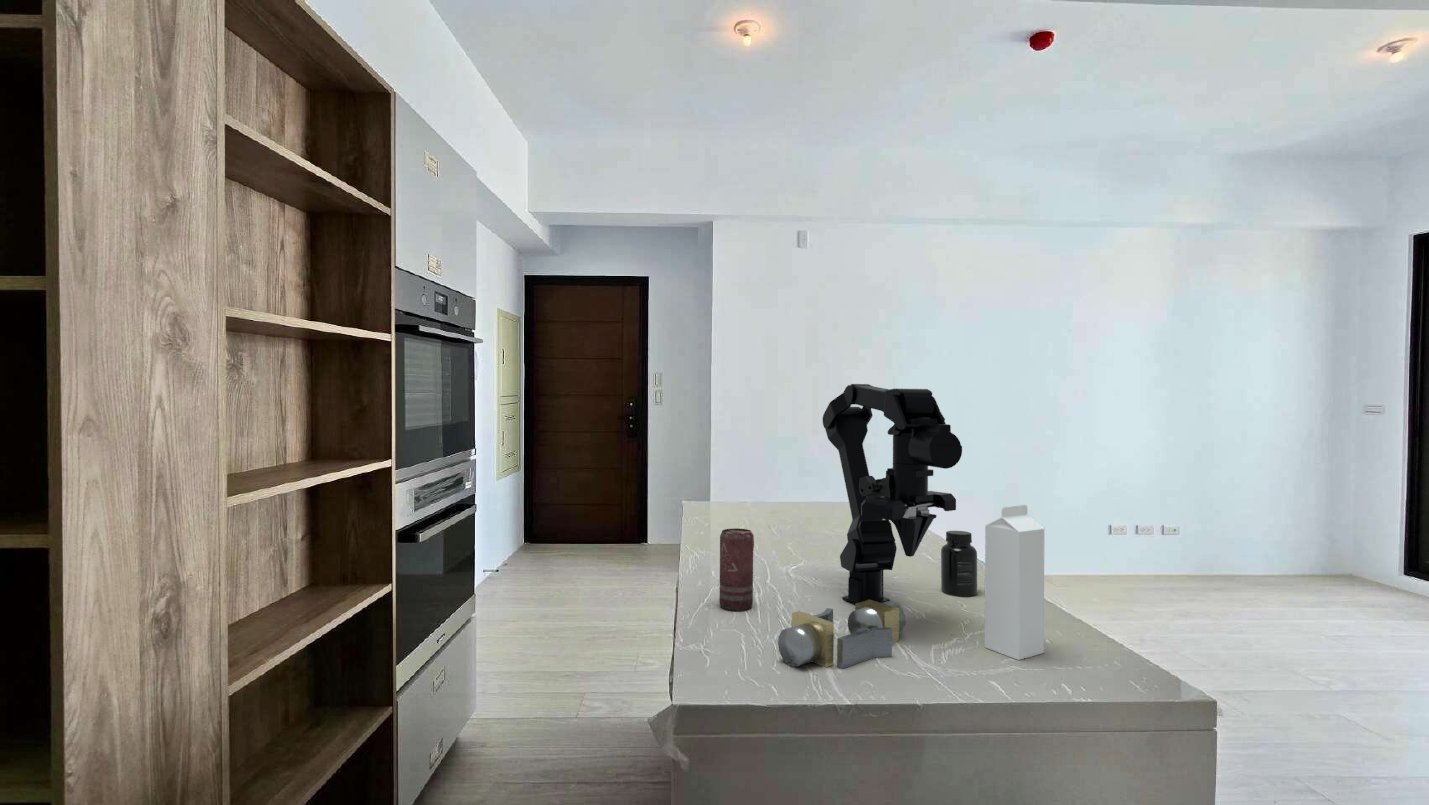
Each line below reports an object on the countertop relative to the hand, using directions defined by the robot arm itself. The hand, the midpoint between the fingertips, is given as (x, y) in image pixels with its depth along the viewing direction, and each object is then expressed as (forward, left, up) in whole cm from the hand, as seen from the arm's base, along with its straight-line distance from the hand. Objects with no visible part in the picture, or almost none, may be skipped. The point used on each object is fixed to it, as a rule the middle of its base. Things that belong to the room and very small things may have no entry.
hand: (909, 556), depth 111 cm
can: (+16, -26, -12) cm, 33 cm away
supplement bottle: (-26, -7, -12) cm, 30 cm away
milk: (-4, +16, -12) cm, 20 cm away
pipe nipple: (+9, 0, -12) cm, 15 cm away
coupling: (+20, 0, -12) cm, 23 cm away
